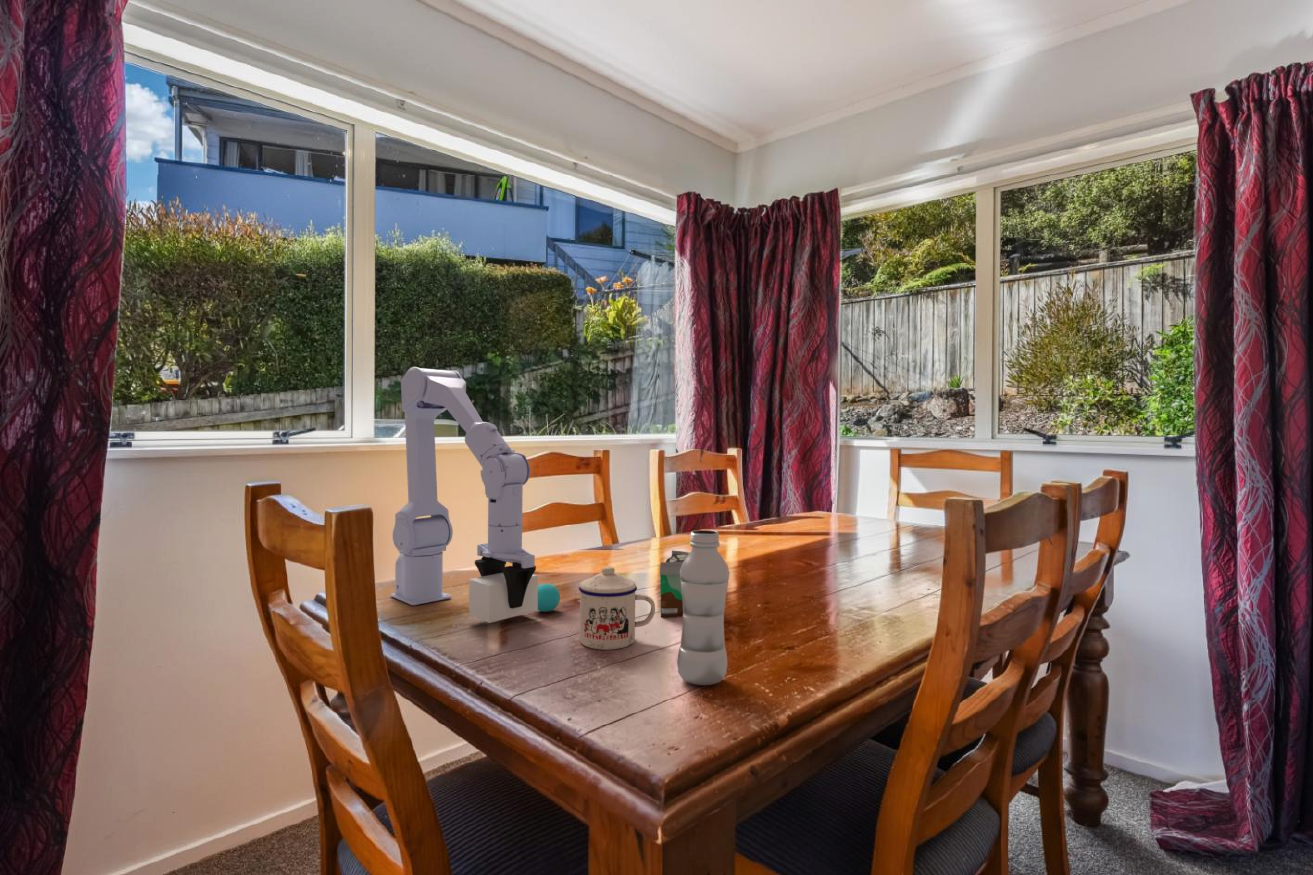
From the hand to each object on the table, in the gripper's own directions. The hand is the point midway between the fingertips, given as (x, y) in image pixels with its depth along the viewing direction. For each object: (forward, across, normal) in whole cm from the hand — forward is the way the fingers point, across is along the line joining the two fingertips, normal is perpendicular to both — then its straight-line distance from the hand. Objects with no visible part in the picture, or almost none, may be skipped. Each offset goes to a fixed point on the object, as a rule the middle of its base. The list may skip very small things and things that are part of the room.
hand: (504, 603), depth 114 cm
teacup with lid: (+3, +21, +7) cm, 22 cm away
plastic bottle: (+3, +41, +4) cm, 41 cm away
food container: (+3, +17, +27) cm, 32 cm away
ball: (+1, 0, +9) cm, 9 cm away
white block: (+2, 0, 0) cm, 2 cm away
